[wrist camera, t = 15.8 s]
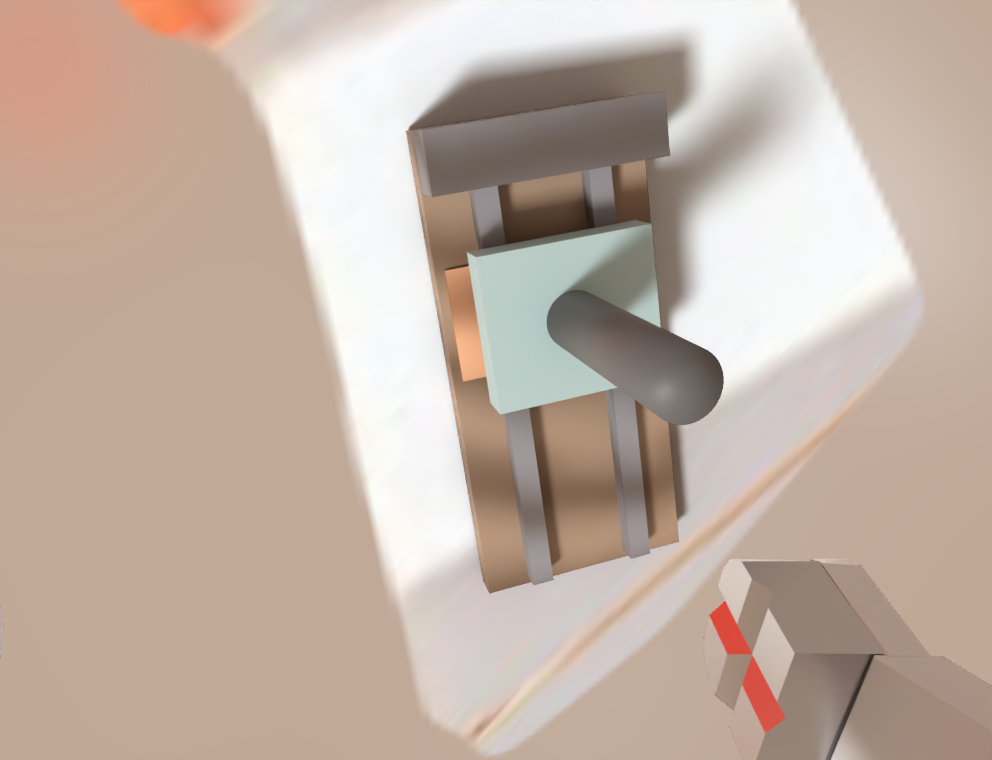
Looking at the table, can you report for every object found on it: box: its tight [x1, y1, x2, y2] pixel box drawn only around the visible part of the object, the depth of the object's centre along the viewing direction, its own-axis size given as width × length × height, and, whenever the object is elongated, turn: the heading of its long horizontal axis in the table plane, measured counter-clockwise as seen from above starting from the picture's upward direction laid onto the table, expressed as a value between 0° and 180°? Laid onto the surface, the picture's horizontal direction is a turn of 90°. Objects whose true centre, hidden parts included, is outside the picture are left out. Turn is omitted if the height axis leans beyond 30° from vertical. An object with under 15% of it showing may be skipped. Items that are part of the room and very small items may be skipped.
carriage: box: [467, 220, 724, 425], centre depth 38 cm, size 8×9×14 cm
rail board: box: [406, 92, 679, 593], centre depth 46 cm, size 26×12×4 cm, turn 8°
